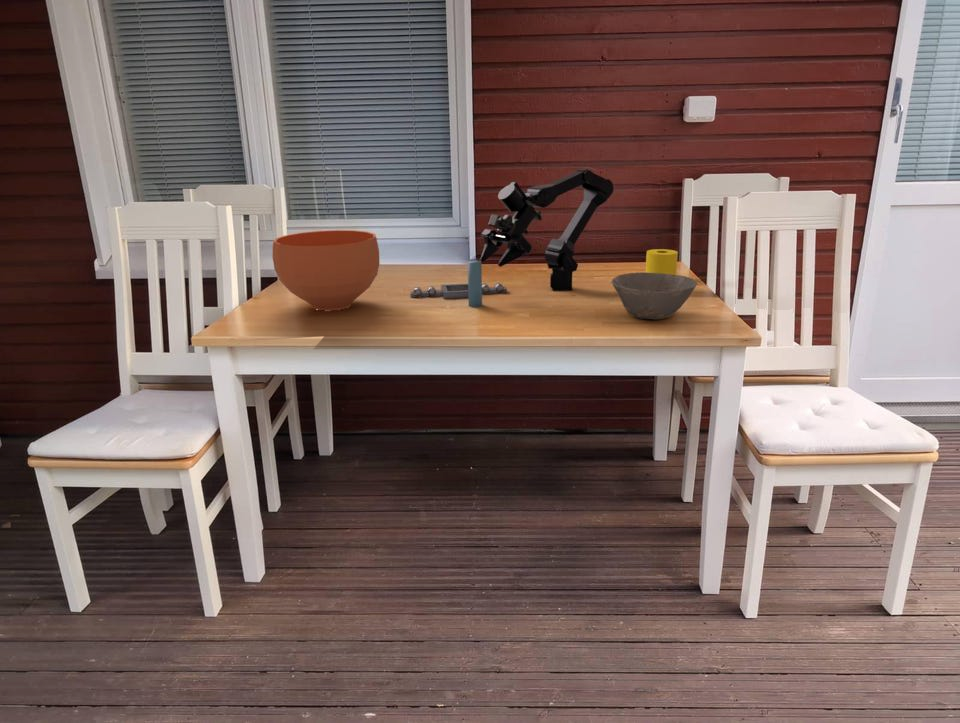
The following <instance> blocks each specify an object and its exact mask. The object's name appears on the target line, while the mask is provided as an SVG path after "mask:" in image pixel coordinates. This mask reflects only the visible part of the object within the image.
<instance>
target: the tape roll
mask: <svg viewBox="0 0 960 723" xmlns="http://www.w3.org/2000/svg"><path fill="white" fill-rule="evenodd" d="M678 255H679V251H677V250H675V249H674V250H673V249H664V248H660V249H659V248H656V249H655V248H653V249H648V250H646V257H645V272H644V273H661V274H672V275H677V266H678V265H677V264H678Z"/></svg>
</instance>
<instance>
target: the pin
mask: <svg viewBox="0 0 960 723" xmlns="http://www.w3.org/2000/svg"><path fill="white" fill-rule="evenodd" d="M482 274H483V272H482V262H481V261H480V260H469V261H467V284H468V297H469V298H468V307H471V308H478V307H482V306H483V294H482V284H483V282H482V280H483V279H482V278H483V277H482Z"/></svg>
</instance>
